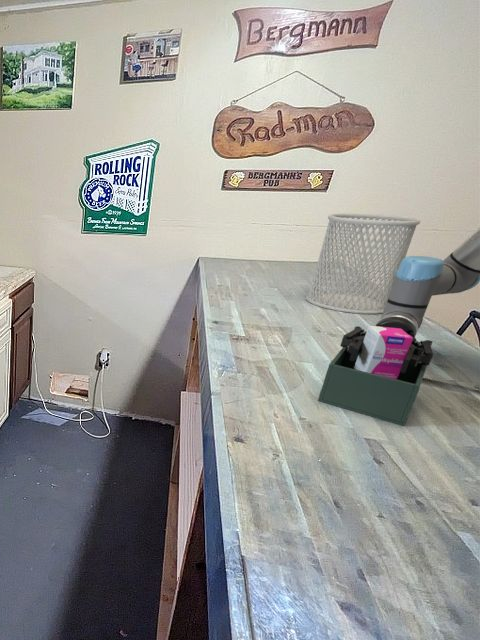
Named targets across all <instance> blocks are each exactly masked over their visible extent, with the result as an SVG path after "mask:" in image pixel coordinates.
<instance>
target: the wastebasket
mask: <svg viewBox="0 0 480 640" xmlns="http://www.w3.org/2000/svg"><path fill="white" fill-rule="evenodd" d="M327 219H328V223H327V228H326V231H325V235H324V238H323V242H322V245H321V249H320V252H319V257H318V260H317V263H316V267H315V271H314V274H313V278H312V281H311V285H310V289H309V292H308V295H306V297H305V299H306V301H307V302H309V303H310V304H312V305H315V306H317V307H320V308H323V309H327V310H331V311H337V312H342V313H349V314H350V313H351V314H360V315H378V314H383V311H384V308H385V305H386V303H387V300H388V297H389V294H390V291H391V288H392V285H393V282H394V279H395V276H396V272H397V270H398V269H399V266H400V264H401V262H402V260H403V259H404V258H405V257H407V254H408V251H409V248H410V245H411V242H412V239H413V236H414V234H415V231H416V228H417V226H418V225H420V224H421V219H419V218H417V217H410V216H402V215H394V214H393V215H391V214H379V213H352V212H351V213H350V212H348V213H346V212H345V213H331V214H329V215H328V216H327ZM357 229H358V230H357ZM363 229H364V230H365V231H364V232H363ZM370 229H371V232H369V230H370ZM377 229H378V231H377V232H376V230H377ZM383 230H384V232H383ZM389 231H390V233H389ZM358 235H359V237H358ZM364 236H366V237H364ZM371 236H373V238H372V239H371ZM378 237H379V238H378ZM377 238H378V239H377ZM384 238H385V239H384ZM353 242H354V243H353ZM359 242H360V243H359ZM366 242H367V245H366ZM373 243H374V244H373ZM372 244H373V245H372ZM379 244H380V245H379ZM367 250H368V251H367ZM373 251H374V252H373ZM368 257H369V258H368ZM341 258H342V259H341ZM332 269H333V270H332ZM337 269H338V271H337ZM343 269H344V272H343ZM349 271H350V272H349ZM333 275H334V276H333ZM338 275H339V277H338ZM344 276H345V278H344ZM334 280H335V283H334ZM339 282H340V283H339ZM345 283H346V284H345ZM329 287H331V288H329ZM335 287H336V288H335ZM334 288H335V289H334ZM340 289H341V290H340Z"/></svg>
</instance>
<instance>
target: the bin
mask: <svg viewBox="0 0 480 640" xmlns="http://www.w3.org/2000/svg"><path fill="white" fill-rule="evenodd" d="M347 349H348V347H341V349H340V351H338V353H337V354H336V355H335V357H334V358H333V359H332V360H331V361H330V363H329V364H328V367H327V370H326V373H325V377H324V380H323V383H322V386H321V389H320V393H319V396H318V399H317V401H318V402H321V403H324V404H327V405H331V406H334V407H338V408H340V409H344V410H348V411H351V412H355V413H358V414H361V415H364V416H367V417H368V416H369V417H372V418H375V419H378V420H382V421H385V422H389V423H393V424H397V425H398V426H399V425H400V426H403V427H404V426H405V424H406V423H407V420H408V418H409V415H410V414H411V413H410V412H411V410H412V408H413V405H414V403H415V400H416V398H417V395H418V394H419V391H420V388H421V385H422V382H423V379H424V376H425V373H426V369H427V367H428V366H425V365H422V364H421V362H418V363H417V365H416V366H415V367H414V366H410V365H408V367H407V370H406V372H405V373H402V372H400V373H399V376H398V378H397V380H396V379H392V378H388V377H384V376H380V375H376V374H372V373H368V372H363V371H359V370H355V369H354V366H355V363H356V361H357V358H358V355H359V354H358V355H357V357H356V358H355V360H354V361H350V360H349V359H350V356H351V353H349V352H348V351H347Z"/></svg>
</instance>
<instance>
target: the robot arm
mask: <svg viewBox="0 0 480 640" xmlns="http://www.w3.org/2000/svg"><path fill="white" fill-rule="evenodd" d="M479 283H480V226H479V227H478V228H477V229H476V230H475V231H474V232H473V233H472V234H470V235H469V236H468V237H467V238H466V239H465V240H464V241H463V242H462V243H461V244H459V245H458V246H457V247H456V248H455V249H454V250H453V251H452V252H451V253H450V254H448V256H446V257H445V258H444V259H441V258H438V257H433V256H427V255H426V256H425V255H408V256H406V257H405V258H404V259H403V260H402V262H401V264H400V266H399V269H398V270H397V272H396V276H395V279H394V282H393V285H392V288H391V291H390V294H389V297H388V300H387V303H386V305H385V308H384V311H383V313H381V316H380V319H379V320H378V321H377V323H376V324H375V325H374V326H379V327H389V328H400V329H402V330H403V331H405V332H406V333H407V334H408V335H410V336H411V337H412V338H413V340H412V343H411V345H410V348H409V350H408V353H407V356H406V358H405V361H404V363H403V366H402V368H401V371H400V372H402V373H405V372H406V370H407V367H408V365H410V366H414V367H415V366H416V365H417V363H418V362H420V363H421V364H422V365H425V366H427V367H429V366H430V364H431V361H432V359H433V356H434V350H433V348H432V345H433V343H434V342H433V341H432V340H430V339H426V340H420V341H418V339H417V338H416V336H417V333H418V331H419V329H420V328H421V326H422V324H423V320H424V317H425V314H426V311H427V309H428V307H429V304H430V302H431V299H432V297H433V296H441V295H449V294H451V295H453V294H459V293H463V292H465V291H470V290H471V289H473V288H475V287H476V286H477V285H478V284H479ZM366 332H367V330H365V329H364V328H362V327H361V326H354V328H353V330H351V331H349V332H347V333H345V334H343V335H342V339H341V343H340V345H339V346H340V347H341V348H343V347H348V349H347V351H348V352H349V353H351V356H350V359H349V360H350V361H354V360H355V358H356V357H357V355H358V354H359V352H360V349H361V347H362V344H363V341H364V338H365V335H366Z"/></svg>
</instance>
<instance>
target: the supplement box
mask: <svg viewBox="0 0 480 640" xmlns="http://www.w3.org/2000/svg"><path fill="white" fill-rule="evenodd" d="M366 331H367V332H366V335H365V338H364V341H363V344H362V347H361V349H360V352H359V355H358V358H357V361H356V363H355V366H354V369H355V370H359V371H363V372H368V373H372V374H376V375H380V376H384V377H388V378H392V379H396V380H397V378H398V376H399V373H400V371H401V368H402V366H403V363H404V361H405V358H406V356H407V353H408V350H409V348H410V345H411V343H412V340H413V338H412V337H411V336H410V335H408V334H407V333H406V332H405V331H403V330H402V329H400V328H389V327H379V326H375V325H368V327H367V329H366Z"/></svg>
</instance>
